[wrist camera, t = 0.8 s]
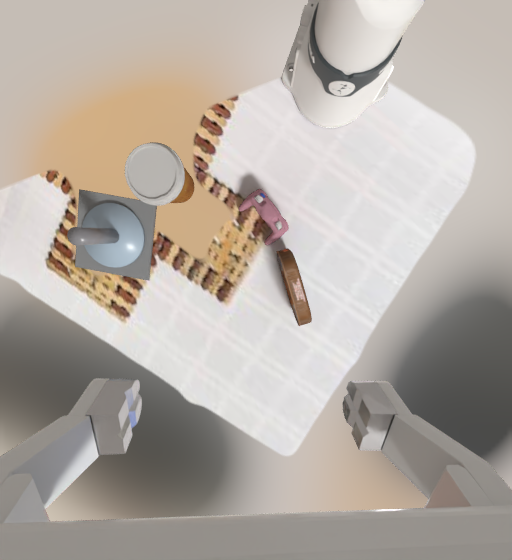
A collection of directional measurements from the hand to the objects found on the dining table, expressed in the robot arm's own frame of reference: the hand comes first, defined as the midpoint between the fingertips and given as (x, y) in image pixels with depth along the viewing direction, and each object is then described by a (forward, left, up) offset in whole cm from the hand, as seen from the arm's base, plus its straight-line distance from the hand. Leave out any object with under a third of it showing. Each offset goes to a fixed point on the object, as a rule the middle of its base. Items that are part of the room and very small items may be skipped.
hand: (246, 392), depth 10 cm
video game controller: (-9, -2, -45) cm, 46 cm away
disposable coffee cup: (-12, -20, -45) cm, 51 cm away
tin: (+3, +6, -45) cm, 45 cm away
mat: (0, -32, -45) cm, 55 cm away
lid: (0, -32, -44) cm, 55 cm away
